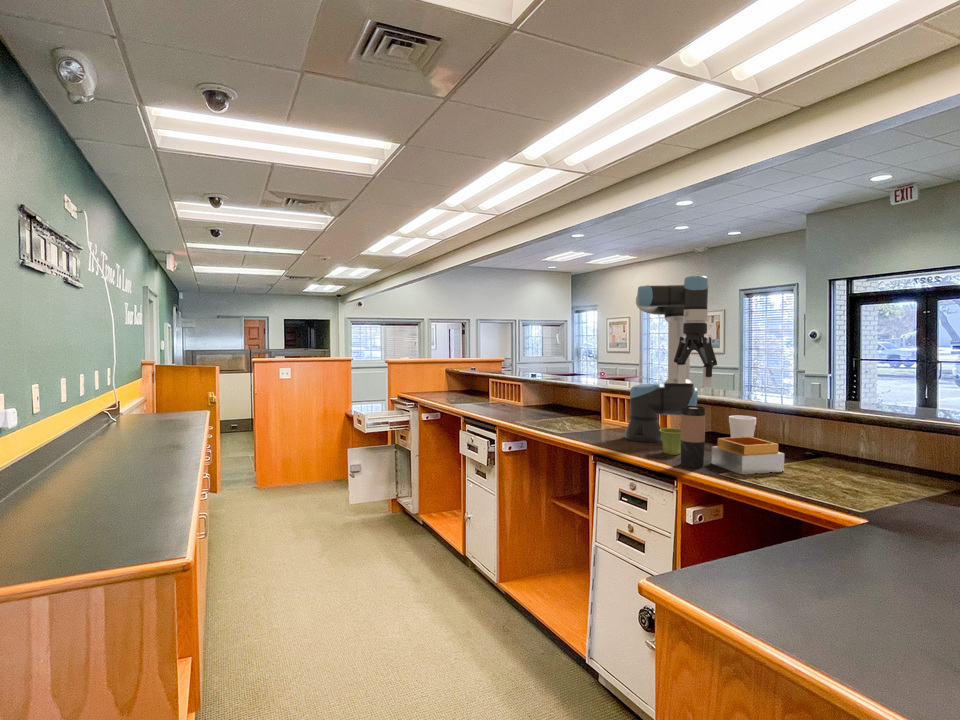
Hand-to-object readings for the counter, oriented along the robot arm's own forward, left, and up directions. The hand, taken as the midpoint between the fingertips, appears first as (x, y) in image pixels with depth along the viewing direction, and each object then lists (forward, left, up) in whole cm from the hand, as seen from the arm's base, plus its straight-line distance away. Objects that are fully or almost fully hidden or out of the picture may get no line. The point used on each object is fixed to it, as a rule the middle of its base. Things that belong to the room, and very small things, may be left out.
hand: (693, 385), depth 185 cm
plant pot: (-18, +4, -28) cm, 33 cm away
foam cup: (-15, +32, -28) cm, 45 cm away
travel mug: (0, 0, -28) cm, 28 cm away
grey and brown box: (+7, +19, -28) cm, 34 cm away
